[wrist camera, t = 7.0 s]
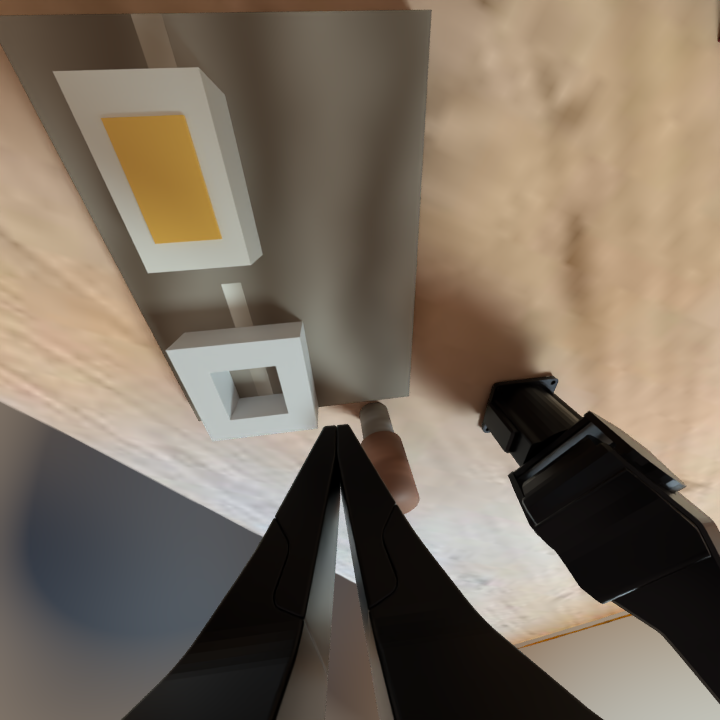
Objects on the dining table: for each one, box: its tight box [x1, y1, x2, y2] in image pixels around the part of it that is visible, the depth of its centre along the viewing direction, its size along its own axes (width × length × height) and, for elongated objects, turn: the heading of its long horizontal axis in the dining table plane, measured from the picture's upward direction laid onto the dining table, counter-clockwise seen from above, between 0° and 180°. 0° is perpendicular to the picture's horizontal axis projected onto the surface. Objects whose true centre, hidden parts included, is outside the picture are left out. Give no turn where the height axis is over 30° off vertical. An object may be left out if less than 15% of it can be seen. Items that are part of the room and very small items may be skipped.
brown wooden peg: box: [360, 403, 419, 514], centre depth 22 cm, size 4×4×9 cm
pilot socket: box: [166, 321, 318, 441], centre depth 19 cm, size 8×8×2 cm
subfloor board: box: [0, 10, 432, 421], centre depth 17 cm, size 18×22×2 cm
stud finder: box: [53, 67, 263, 273], centre depth 12 cm, size 5×7×3 cm
